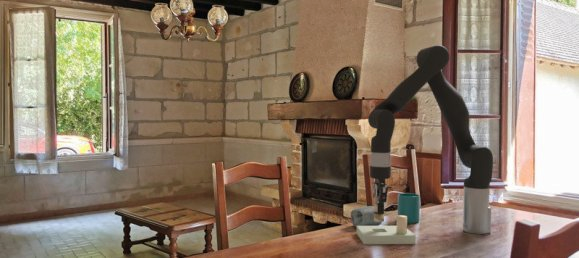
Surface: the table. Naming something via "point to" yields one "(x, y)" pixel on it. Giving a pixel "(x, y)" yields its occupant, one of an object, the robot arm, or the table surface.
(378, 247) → the table surface
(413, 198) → the cup
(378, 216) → the peg
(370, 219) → the spool
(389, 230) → the seat board
